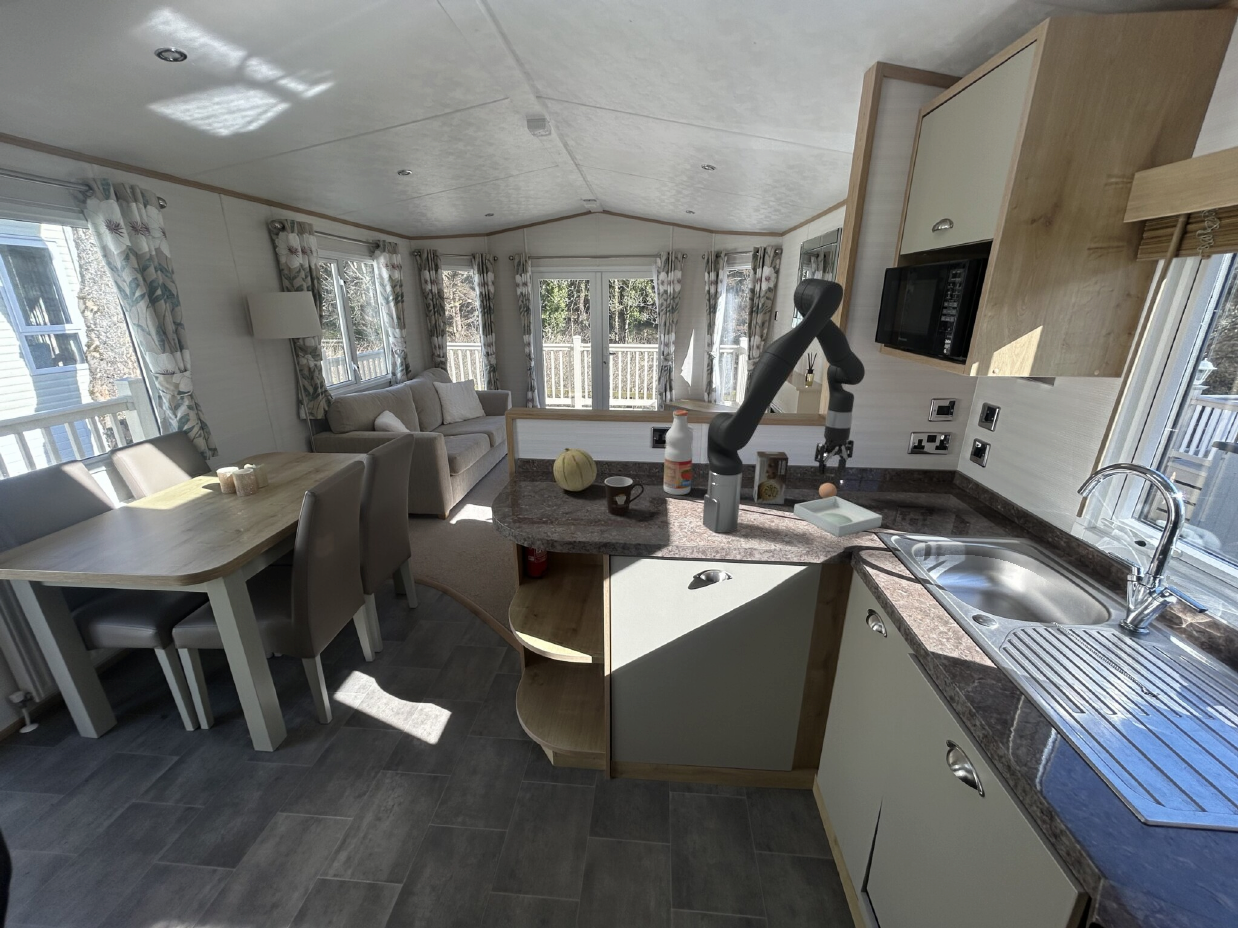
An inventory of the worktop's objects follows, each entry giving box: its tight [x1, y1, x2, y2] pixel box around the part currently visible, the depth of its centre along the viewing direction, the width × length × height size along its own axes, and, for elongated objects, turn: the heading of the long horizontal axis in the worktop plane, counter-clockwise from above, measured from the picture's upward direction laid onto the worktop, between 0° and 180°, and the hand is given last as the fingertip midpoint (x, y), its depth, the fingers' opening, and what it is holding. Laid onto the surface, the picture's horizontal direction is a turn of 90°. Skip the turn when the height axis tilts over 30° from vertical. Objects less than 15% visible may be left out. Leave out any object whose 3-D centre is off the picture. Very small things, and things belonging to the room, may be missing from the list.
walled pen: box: [793, 496, 883, 538], centre depth 150 cm, size 17×17×3 cm
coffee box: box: [752, 450, 789, 505], centre depth 163 cm, size 9×6×16 cm
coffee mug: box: [604, 476, 645, 516], centre depth 154 cm, size 12×9×10 cm
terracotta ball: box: [818, 482, 838, 499], centre depth 166 cm, size 6×6×6 cm
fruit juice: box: [663, 409, 694, 496], centre depth 169 cm, size 9×9×28 cm
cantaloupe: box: [552, 447, 598, 492], centre depth 171 cm, size 15×15×15 cm
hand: (831, 472), depth 164 cm, fingers open, 8 cm apart
